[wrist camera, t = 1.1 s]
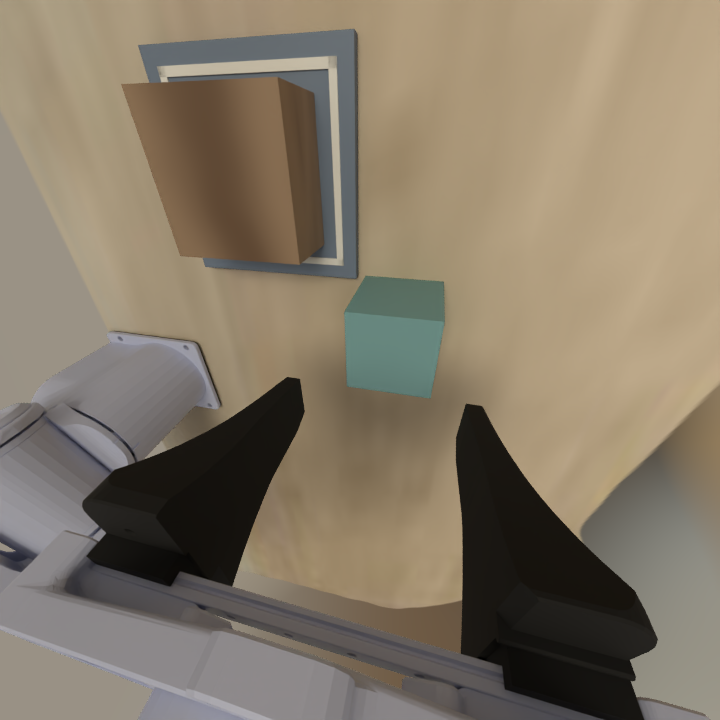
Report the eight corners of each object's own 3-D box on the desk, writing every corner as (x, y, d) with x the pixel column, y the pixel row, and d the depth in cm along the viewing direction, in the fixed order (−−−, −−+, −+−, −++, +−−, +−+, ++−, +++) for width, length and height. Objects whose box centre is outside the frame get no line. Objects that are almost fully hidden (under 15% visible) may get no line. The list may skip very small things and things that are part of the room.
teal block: (365, 340, 22) (347, 386, 18) (366, 275, 20) (344, 311, 15) (432, 347, 22) (430, 398, 17) (443, 281, 19) (444, 321, 14)
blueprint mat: (210, 264, 22) (204, 267, 21) (147, 48, 15) (136, 44, 15) (358, 275, 20) (355, 279, 19) (357, 33, 13) (353, 27, 13)
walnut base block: (223, 238, 20) (180, 255, 16) (187, 97, 15) (121, 84, 12) (324, 244, 18) (299, 264, 15) (314, 92, 14) (277, 76, 11)
